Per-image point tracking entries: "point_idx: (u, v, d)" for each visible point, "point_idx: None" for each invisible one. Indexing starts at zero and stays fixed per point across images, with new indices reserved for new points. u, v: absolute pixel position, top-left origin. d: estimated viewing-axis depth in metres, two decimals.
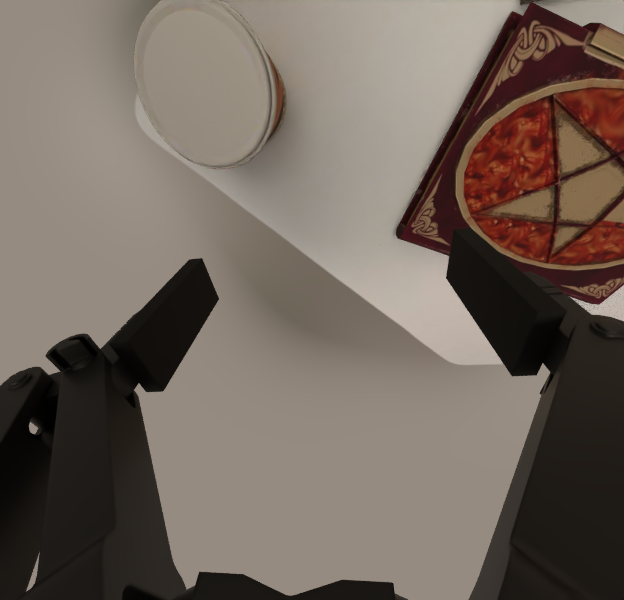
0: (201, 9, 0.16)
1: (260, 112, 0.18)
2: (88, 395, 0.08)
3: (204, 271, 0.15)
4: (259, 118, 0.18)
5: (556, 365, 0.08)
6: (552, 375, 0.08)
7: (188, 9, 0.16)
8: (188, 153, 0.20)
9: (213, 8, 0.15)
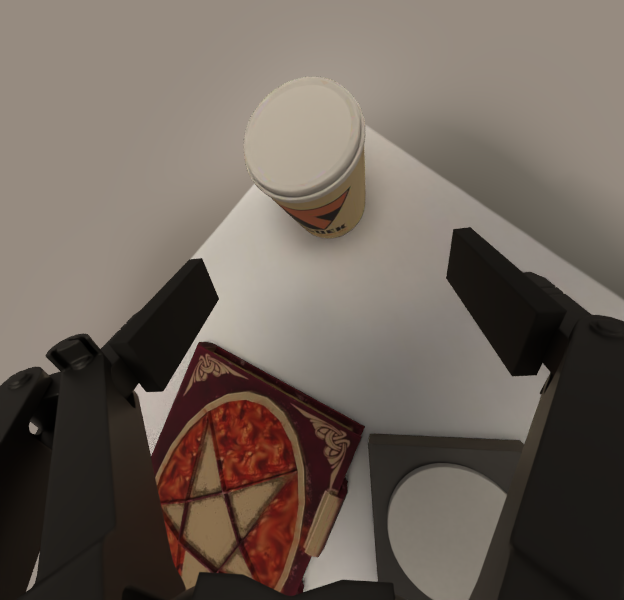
0: (349, 140, 0.18)
1: (278, 184, 0.19)
2: (88, 395, 0.08)
3: (204, 271, 0.15)
4: (274, 183, 0.20)
5: (556, 365, 0.08)
6: (552, 375, 0.08)
7: (351, 129, 0.18)
8: (256, 114, 0.21)
9: (349, 149, 0.18)
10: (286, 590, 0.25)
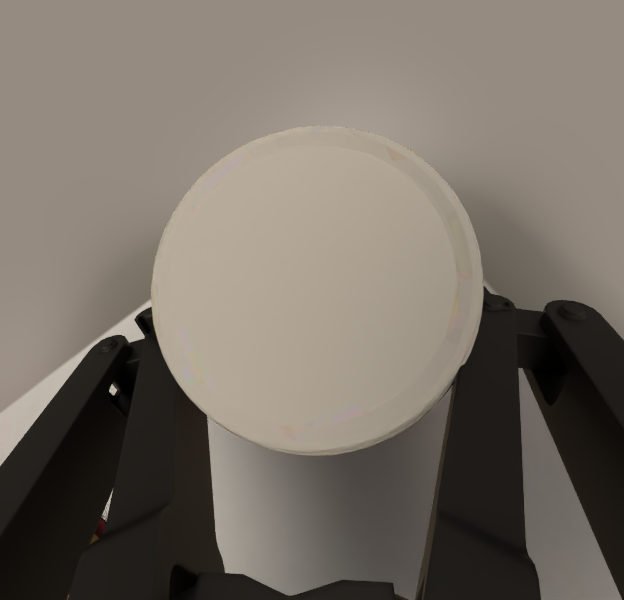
0: (446, 342, 0.06)
1: (223, 401, 0.07)
2: (163, 363, 0.08)
3: None
4: (213, 392, 0.07)
5: None
6: None
7: (454, 310, 0.06)
8: (206, 185, 0.08)
9: (442, 373, 0.06)
10: None
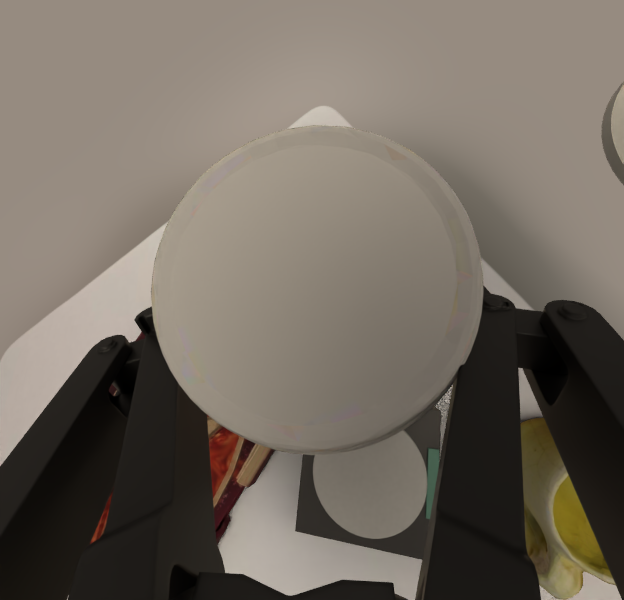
0: (446, 341, 0.06)
1: (223, 400, 0.07)
2: (163, 363, 0.08)
3: None
4: (213, 392, 0.07)
5: None
6: None
7: (453, 310, 0.06)
8: (206, 185, 0.08)
9: (441, 372, 0.06)
10: None
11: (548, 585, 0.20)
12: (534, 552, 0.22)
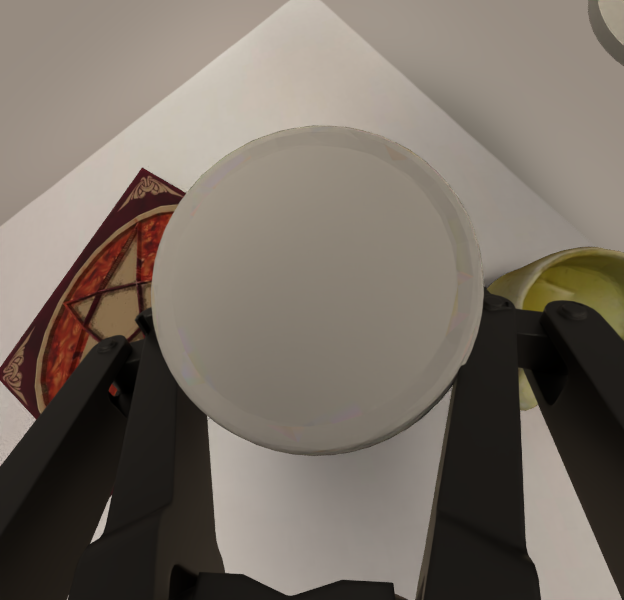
0: (447, 342, 0.06)
1: (223, 401, 0.07)
2: (163, 363, 0.08)
3: None
4: (213, 393, 0.07)
5: None
6: None
7: (454, 310, 0.06)
8: (206, 185, 0.08)
9: (442, 373, 0.06)
10: None
11: None
12: None
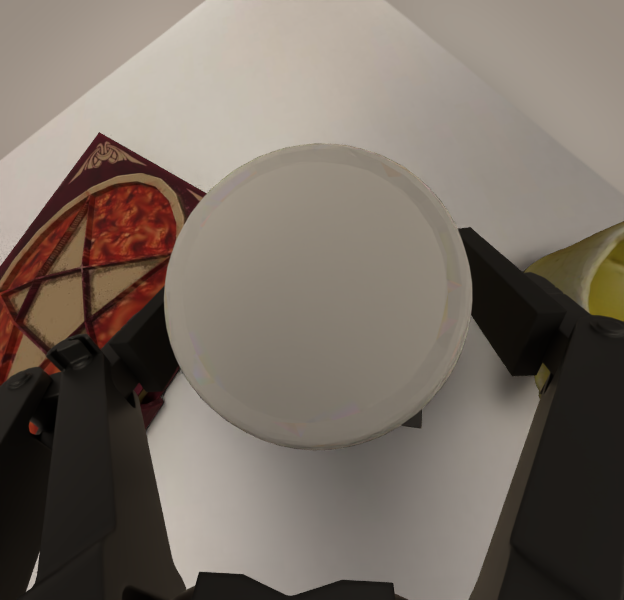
0: (437, 345, 0.07)
1: (231, 399, 0.07)
2: (88, 395, 0.08)
3: None
4: (222, 392, 0.08)
5: (556, 365, 0.08)
6: (552, 375, 0.08)
7: (444, 316, 0.07)
8: (215, 198, 0.09)
9: (432, 374, 0.07)
10: None
11: None
12: None
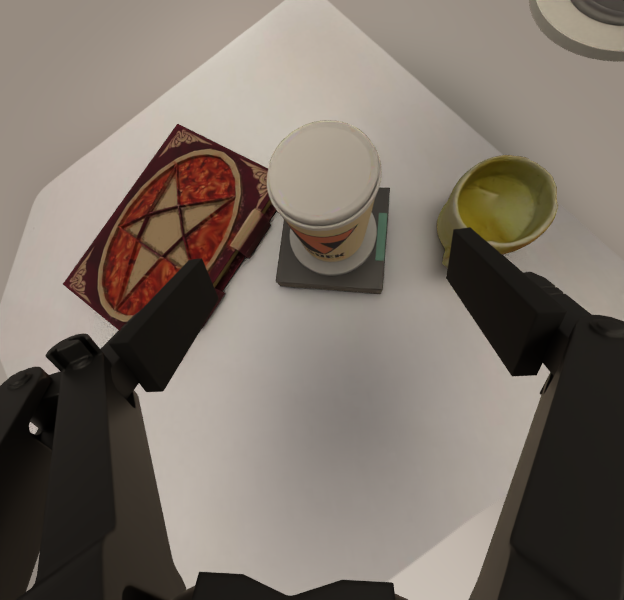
0: (366, 186, 0.20)
1: (295, 210, 0.21)
2: (88, 395, 0.08)
3: (204, 271, 0.15)
4: (292, 208, 0.21)
5: (556, 365, 0.08)
6: (552, 375, 0.08)
7: (369, 177, 0.21)
8: (286, 142, 0.22)
9: (364, 194, 0.20)
10: (211, 273, 0.34)
11: None
12: None
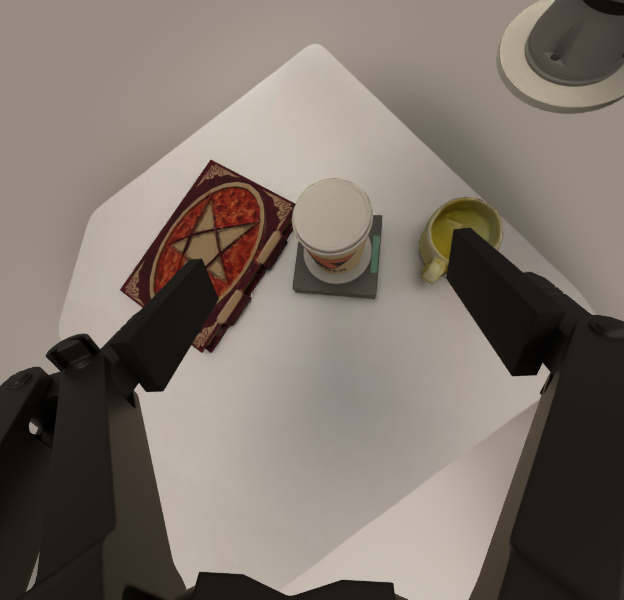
0: (362, 227, 0.30)
1: (313, 242, 0.30)
2: (88, 395, 0.08)
3: (204, 271, 0.15)
4: (310, 241, 0.30)
5: (556, 365, 0.08)
6: (552, 375, 0.08)
7: (364, 220, 0.30)
8: (306, 193, 0.31)
9: (361, 233, 0.30)
10: (242, 282, 0.44)
11: (428, 273, 0.36)
12: None
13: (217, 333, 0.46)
